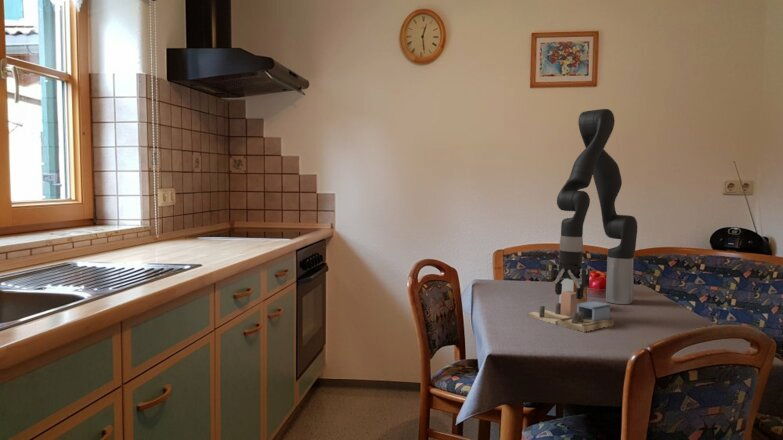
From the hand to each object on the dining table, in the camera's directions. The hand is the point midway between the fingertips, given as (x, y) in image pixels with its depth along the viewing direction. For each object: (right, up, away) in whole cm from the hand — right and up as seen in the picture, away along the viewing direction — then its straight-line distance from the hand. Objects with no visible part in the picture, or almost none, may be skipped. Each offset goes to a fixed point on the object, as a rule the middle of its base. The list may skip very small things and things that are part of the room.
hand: (568, 296), depth 190 cm
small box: (+6, -6, +13) cm, 15 cm away
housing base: (+2, -8, -12) cm, 14 cm away
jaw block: (0, -7, +1) cm, 7 cm away
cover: (+5, -6, -10) cm, 12 cm away
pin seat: (-7, -7, -3) cm, 10 cm away
